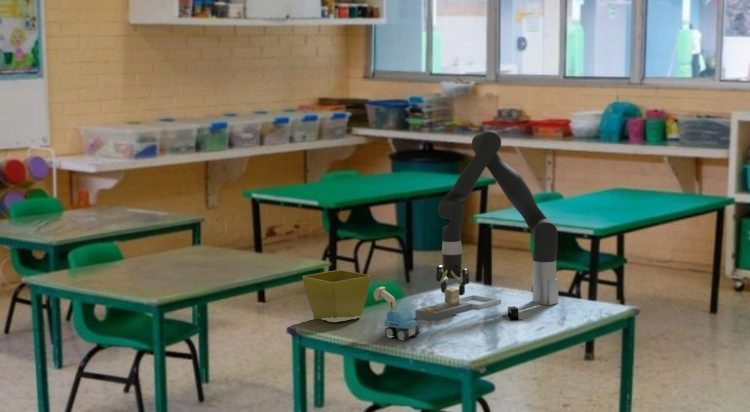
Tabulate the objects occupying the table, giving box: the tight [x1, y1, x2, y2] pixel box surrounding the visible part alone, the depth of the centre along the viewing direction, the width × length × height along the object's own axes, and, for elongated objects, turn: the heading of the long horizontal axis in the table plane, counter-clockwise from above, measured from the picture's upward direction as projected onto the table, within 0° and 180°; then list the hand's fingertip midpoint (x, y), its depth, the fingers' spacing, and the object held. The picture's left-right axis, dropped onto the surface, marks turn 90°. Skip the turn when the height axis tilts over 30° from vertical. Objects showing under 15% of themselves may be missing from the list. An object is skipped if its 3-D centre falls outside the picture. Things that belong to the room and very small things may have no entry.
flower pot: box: [302, 269, 371, 320], centre depth 476 cm, size 19×19×17 cm
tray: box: [459, 294, 502, 310], centre depth 496 cm, size 14×14×2 cm
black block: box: [502, 306, 524, 322], centre depth 474 cm, size 12×7×5 cm, turn 12°
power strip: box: [414, 301, 473, 322], centre depth 482 cm, size 10×22×4 cm, turn 137°
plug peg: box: [444, 287, 460, 307], centre depth 485 cm, size 4×4×9 cm
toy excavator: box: [373, 286, 420, 340], centre depth 447 cm, size 9×17×17 cm, turn 51°
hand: (452, 293), depth 484 cm, fingers open, 8 cm apart
